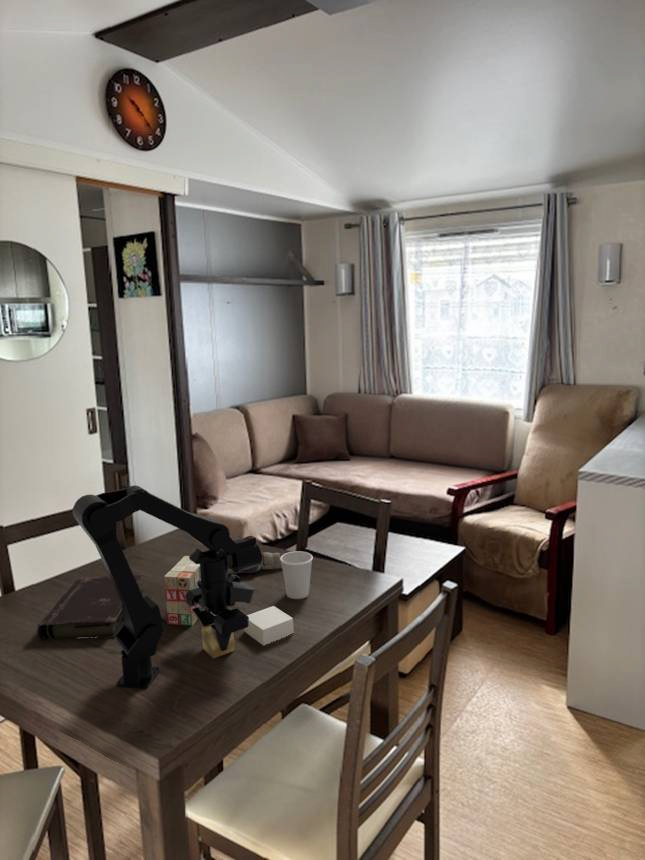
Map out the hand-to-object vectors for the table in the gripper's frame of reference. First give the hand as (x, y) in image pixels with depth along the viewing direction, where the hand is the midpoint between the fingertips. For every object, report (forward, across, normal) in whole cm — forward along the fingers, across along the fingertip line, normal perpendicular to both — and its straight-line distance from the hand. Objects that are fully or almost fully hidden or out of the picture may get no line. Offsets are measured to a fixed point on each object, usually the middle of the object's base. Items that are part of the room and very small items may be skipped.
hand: (218, 645), depth 137 cm
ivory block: (+1, 0, -12) cm, 12 cm away
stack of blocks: (+1, +23, -5) cm, 24 cm away
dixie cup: (+1, +12, -28) cm, 31 cm away
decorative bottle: (+1, +33, -22) cm, 40 cm away
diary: (+2, +34, +16) cm, 38 cm away
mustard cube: (+1, 0, 0) cm, 1 cm away
